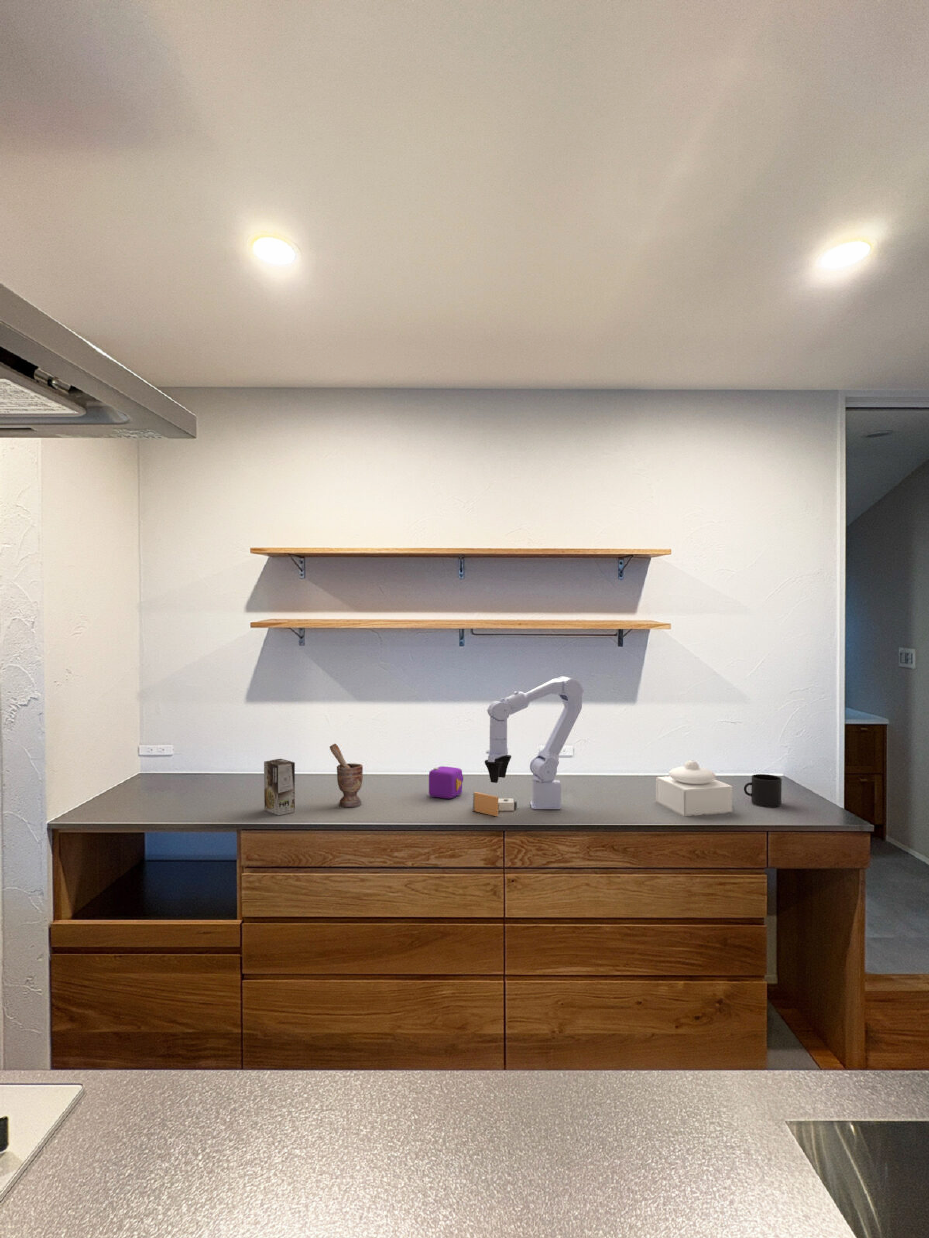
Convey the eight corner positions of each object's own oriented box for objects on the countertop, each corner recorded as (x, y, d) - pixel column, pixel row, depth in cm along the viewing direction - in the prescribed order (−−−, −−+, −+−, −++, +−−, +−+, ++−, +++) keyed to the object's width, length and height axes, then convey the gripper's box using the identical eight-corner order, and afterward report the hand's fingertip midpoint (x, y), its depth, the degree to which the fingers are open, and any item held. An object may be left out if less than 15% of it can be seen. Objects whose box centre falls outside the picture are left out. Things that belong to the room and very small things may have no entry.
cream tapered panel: (515, 806, 244) (515, 797, 243) (517, 810, 238) (517, 801, 238) (473, 806, 243) (473, 797, 243) (474, 810, 238) (474, 801, 238)
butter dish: (701, 799, 255) (701, 753, 254) (732, 813, 237) (733, 764, 237) (655, 802, 250) (656, 756, 250) (684, 817, 233) (685, 767, 232)
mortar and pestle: (325, 807, 241) (325, 747, 240) (331, 800, 250) (331, 742, 249) (359, 808, 240) (360, 747, 240) (364, 801, 249) (364, 742, 249)
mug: (740, 799, 254) (741, 773, 254) (777, 800, 252) (777, 774, 252) (746, 806, 245) (746, 779, 245) (784, 808, 243) (784, 781, 243)
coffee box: (295, 812, 236) (295, 762, 235) (277, 816, 231) (277, 765, 231) (281, 806, 242) (281, 757, 242) (263, 810, 238) (263, 760, 237)
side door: (472, 810, 238) (472, 792, 237) (474, 810, 238) (474, 791, 238) (496, 816, 231) (496, 797, 231) (498, 815, 232) (498, 796, 232)
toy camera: (467, 791, 263) (467, 763, 263) (456, 800, 250) (456, 771, 250) (438, 788, 266) (438, 761, 266) (426, 798, 253) (426, 769, 253)
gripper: (494, 733, 247) (493, 773, 248) (479, 741, 234) (478, 783, 234) (514, 735, 245) (513, 775, 245) (500, 742, 231) (499, 785, 232)
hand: (498, 779), depth 239 cm, fingers open, 7 cm apart
